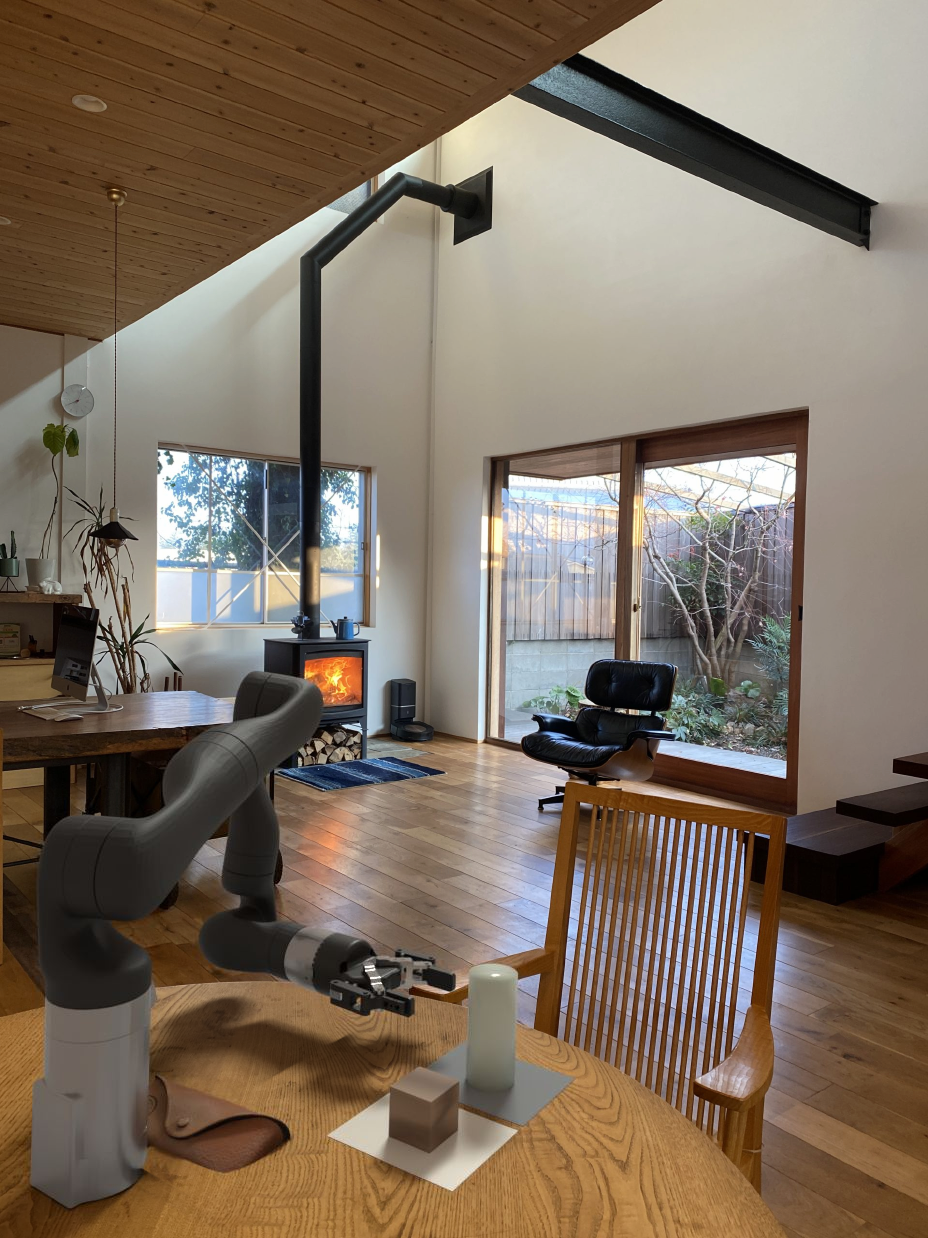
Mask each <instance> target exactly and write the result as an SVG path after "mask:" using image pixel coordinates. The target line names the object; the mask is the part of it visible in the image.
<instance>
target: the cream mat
mask: <svg viewBox="0 0 928 1238" xmlns="http://www.w3.org/2000/svg"><path fill="white" fill-rule="evenodd" d="M389 1102H390V1092H388V1093H387V1094H385V1095H384V1096H383V1097H380V1098H379V1099H377V1101H375V1102H373V1103H372V1104H370V1105H369V1106H368V1107H366V1108H365V1109H364V1110H362V1111H360V1112H359V1113H357V1114H356V1115H355V1116H353V1117H351V1118H350V1119H349V1120H347V1121H346V1122H344V1123H343V1124H342V1125H340V1126H339V1127H337V1128H336V1129H334V1130H333V1131H331V1132H330V1133H329V1134H327V1135H326V1137H328V1138H330V1139H333V1140H335V1141H337V1142H339V1143H341V1144H344V1145H346V1146H349V1147H351V1148H353V1149H356V1150H358V1151H360V1152H362V1153H364V1154H366V1155H369V1156H371V1157H373V1158H376V1159H377V1160H380V1161H383V1162H384V1163H387V1164H388V1165H391V1166H394V1167H396V1168H398V1169H400V1170H402V1171H405V1172H407V1173H409V1174H411V1175H414V1176H415V1177H419V1178H420V1179H423V1180H425V1181H427V1182H429V1183H431V1184H433V1185H436V1186H438V1187H440V1188H442V1189H445V1190H447V1191H449V1192H454V1191H455V1190H456V1189H457V1188H459V1186H461V1184H463V1183H464V1182H465V1181H466V1180H467V1179H468V1178H469V1177H470V1176H471V1175H472V1174H474V1173H475V1172H476V1171H477V1170H478V1169H479V1168H480V1167H481V1166H482V1165H483V1164H484V1163H485V1162H487V1160H488V1159H490V1158H491V1157H492V1156H493V1155H494V1154H495V1153H496V1152H498V1150H500V1149H501V1147H503V1146H504V1145H505V1144H506V1143H507V1142H508V1141H510V1139H511V1138H513V1137H514V1136H515V1135H516V1134H517V1133H519V1131H518V1129H514V1128H512V1127H509V1126H506V1125H503V1123H502V1124H501V1123H499V1122H497V1121H494V1120H490V1119H488V1118H486V1117H483V1116H482V1115H481V1116H480V1115H478V1114H476V1113H473V1112H471V1111H467V1110H465V1109H462V1108H461V1107H459V1115H458V1131H456V1132H455V1133H454V1134H453V1135H451V1136H450V1137H449V1138H448V1139H447V1140H445V1141H444V1142H443V1143H442V1144H441V1145H439V1146H438V1147H437V1148H436V1149H435V1150H433V1151H432V1152H431V1153H430V1154H429V1153H427V1152H424V1151H422V1150H420V1149H417V1148H415V1147H413V1146H410V1145H408V1144H406V1143H403V1142H401V1141H398V1140H396V1139H394V1138H391V1137H389V1136H388V1135H389Z"/></svg>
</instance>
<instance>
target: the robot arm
mask: <svg viewBox="0 0 928 1238" xmlns="http://www.w3.org/2000/svg"><path fill="white" fill-rule="evenodd" d="M323 696H324V695H323V693H322V691H321V689H320V687H319V686H318V685H317V684H315V683H314V682H313V681H310V680H308V679H305V678H302V677H296V676H291V675H287V674H281V673H274V672H267V671H262V670H253V671H250V672H248V674H247V675H245V676H244V678H243V679H242V681H241V682H240V684H239V686H238V689H237V692H236V695H235V699H234V706H233V711H232V721H231V722H226V723H223V724H219V725H216V726H213V727H211V728H208V729H206V730H205V731H203V732H201V733H200V734H198V735H197V736H195V737H194V738H192V740H190V741H189V742H188V743H187V744H185V746H183V747H182V748H181V749H180V750H179V751H178V752H177V753H175V754H174V755H173V756H172V758H171V760H169V762H168V764H167V766H166V767H165V770H164V773H163V778H162V796H163V797H162V798H163V802H164V805H165V806H164V807H162V808H161V809H159V810H158V811H157V812H155V813H154V814H152V815H149V816H145V817H140V818H139V817H138V818H134V817H119V816H107V815H94V814H72V815H68V816H66V817H64V818H62V819H61V820H59V821H58V822H57V823H55V824H54V826H53V827H52V828H51V830H50V831H49V832H48V834H47V836H46V838H45V840H44V842H43V845H42V849H41V851H40V854H39V861H38V866H37V874H36V906H37V907H36V909H37V911H36V912H37V937H38V963H39V968H40V972H41V975H42V977H43V979H44V982H45V985H44V987H45V989H44V993H45V994H44V995H45V997H44V998H45V999H44V1029H43V1030H44V1032H43V1035H44V1037H43V1065H42V1066H43V1068H42V1077H40V1078H38V1079H36V1080H35V1081H34V1082H33V1084H32V1103H31V1105H32V1107H31V1108H32V1109H31V1115H32V1116H31V1145H30V1146H31V1148H30V1150H31V1151H30V1183H29V1185H31V1186H32V1187H34V1188H36V1190H38V1191H41V1192H42V1193H44V1194H45V1195H47V1196H48V1197H50V1198H52V1199H54V1201H56V1202H58V1203H60V1204H62V1206H64V1207H66V1208H68V1209H73V1208H75V1207H76V1206H78V1205H80V1204H82V1203H87V1202H94V1201H98V1200H102V1199H105V1198H108V1197H109V1198H110V1197H111V1196H114V1195H116V1194H118V1193H121V1192H122V1191H124V1190H126V1189H127V1188H130V1187H131V1186H133V1184H135V1183H136V1182H137V1181H138V1180H139V1178H141V1177H142V1175H143V1174H144V1172H145V1169H144V1168H143V1166H144V1165H145V1163H146V1160H147V1156H148V1155H147V1154H148V1153H147V1152H148V1148H147V1128H148V1088H149V1085H150V1083H149V1081H150V1079H149V1078H150V1050H151V1049H150V1045H151V1044H150V1043H151V1012H152V1010H151V1009H152V1008H151V981H153V979H152V978H153V977H152V973H153V965H152V958H151V956H150V954H149V952H148V951H147V950H146V949H145V948H144V947H143V946H142V945H140V944H138V943H136V942H135V941H132V940H131V939H129V938H128V937H126V936H125V935H124V934H122V933H121V932H120V931H118V930H117V929H116V928H115V927H114V925H113V924H112V923H111V922H110V921H113V922H114V921H115V922H132V921H133V922H134V921H138V920H142V919H143V918H145V917H147V916H149V915H151V914H152V912H154V911H155V910H156V909H157V908H158V907H159V906H160V905H161V904H162V903H163V901H164V900H165V899H166V898H167V897H168V896H169V894H170V893H171V891H172V890H173V889H174V887H175V886H176V885H177V883H178V881H179V880H180V878H181V877H182V876H183V874H184V873H185V871H186V870H187V868H189V865H191V863H192V862H193V860H194V859H195V857H196V855H198V853H199V852H200V850H201V848H203V847H204V845H205V844H206V843H207V842H208V840H210V838H211V837H212V836H213V835H214V834H215V832H217V830H218V829H219V828H220V827H221V825H222V824H223V823H224V822H225V821H226V820H227V819H228V818H229V822H228V823H229V824H228V831H227V836H226V837H227V839H226V844H225V849H224V850H225V851H224V857H223V864H222V870H221V877H220V879H221V881H220V882H221V885H222V888H223V889H224V890H225V891H227V892H228V893H230V894H232V895H235V896H239V899H240V902H239V906H238V907H235V908H232V909H226V910H223V911H219V912H216V913H214V914H212V915H210V916H209V917H208V918H206V919H205V921H204V922H203V924H202V925H201V926H200V929H199V932H198V946H199V949H200V951H201V953H202V956H203V957H204V958H205V959H206V960H207V961H208V962H209V963H210V964H212V965H214V966H216V967H217V968H221V969H224V970H228V971H235V972H241V973H242V972H243V973H244V972H245V973H255V974H258V973H259V974H267V975H271V976H273V977H276V978H278V979H282V980H285V981H287V982H290V983H294V984H295V985H297V986H298V987H299V986H300V987H301V988H303V989H304V990H305V989H306V990H308V991H311V992H315V993H317V994H319V995H323V996H326V997H329V998H330V999H329V1003H330V1004H331V1005H333V1006H336V1007H338V1008H341V1009H343V1010H346V1011H348V1012H351V1013H353V1014H356V1015H359V1016H361V1017H368V1016H370V1015H371V1012H372V1011H375V1012H377V1013H381V1012H384V1011H386V1012H389V1013H393V1014H396V1015H399V1016H403V1017H406V1018H411V1017H412V1016H414V1015H415V1011H416V1010H415V1005H416V1004H415V1002H416V1000H415V998H414V997H413V996H412V995H409V994H406V993H402V992H400V991H397V990H400V989H401V990H406V989H407V990H409V989H410V990H411V988H412V987H413V986H414V985H415V986H418V985H421V986H424V985H425V986H428V987H432V988H435V989H438V990H441V991H446V992H448V993H451V992H453V991H454V990H456V986H457V985H456V984H457V976H456V973H455V972H453V971H451V970H447V969H443V968H440V967H437V966H436V965H437V963H436V962H437V957H436V956H434V955H430V954H425V953H422V952H418V951H414V950H411V949H405V948H401V947H398V948H394V956H392V957H391V956H390V955H378V954H377V952H375V950H374V949H373V947H372V945H371V944H370V942H368V941H367V940H365V939H363V938H358V937H355V936H351V935H347V934H344V933H341V932H336V931H333V930H331V929H327V928H319V927H312V926H309V925H305V924H301V923H298V922H295V921H288V920H278V912H277V904H276V893H275V886H274V885H275V883H274V877H275V871H276V866H277V859H278V854H279V848H280V847H279V846H280V839H281V838H280V836H281V835H280V834H281V833H280V824H279V819H278V815H277V812H276V809H275V807H274V804H273V801H272V800H271V796H270V794H269V792H268V790H267V787H266V783H265V781H264V779H265V778H267V776H268V775H270V773H271V772H272V771H273V770H274V769H276V768H277V767H278V766H279V765H280V764H282V763H283V761H285V760H287V759H288V758H289V757H291V756H292V755H294V754H295V753H296V752H297V751H298V750H300V749H302V748H303V746H305V745H306V744H307V743H308V742H309V741H310V739H311V738H312V737H313V735H314V734H315V732H316V731H317V729H318V727H319V725H320V723H321V720H322V717H323V714H324V707H325V705H324V703H325V701H324V697H323ZM403 973H406V977H405V979H404V980H402V974H403ZM413 975H414V976H413ZM359 999H360V1000H359ZM358 1000H359V1001H360V1003H358Z"/></svg>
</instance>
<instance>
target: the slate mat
mask: <svg viewBox="0 0 928 1238" xmlns="http://www.w3.org/2000/svg"><path fill="white" fill-rule="evenodd" d="M466 1054H467V1041H463V1042H461V1043H460V1044H458V1045H457V1046H455V1047H454V1048H452V1049H451V1050H449V1051H448V1052H446V1053H445V1054H444V1055H442V1056H441V1057H439V1058H438V1059H436V1060H435V1061H433V1062H432V1063H430V1064H429V1065H428V1066H426V1067H424V1068H425V1069H428V1070H431V1071H434V1072H436V1073H439V1074H442V1075H445V1076H447V1077H450V1078H453V1079H455V1080H458V1081H460V1082H459V1103H460V1104H461V1105H465V1106H467V1107H470V1108H473V1109H475V1110H478V1111H480V1112H484V1113H485V1114H488V1115H491V1116H494V1117H496V1118H498V1119H501V1120H503V1121H507V1122H509V1123H513V1124H514V1125H517V1126H520V1127H521V1128H522V1127H525V1126H526V1125H527V1124H528V1123H529V1122H530V1121H531V1120H532V1119H533V1118H535V1116H537V1115H538V1114H539V1113H540V1112H541V1111H542V1110H543V1109H544V1108H545V1107H546V1106H547V1105H549V1104H550V1103H551V1102H552V1101H553V1100H554V1099H555V1098H556V1097H557V1096H559V1094H560V1093H562V1092H564V1090H565V1089H566V1088H567V1087H568V1086H569V1085H571V1084H572V1082H574V1081H575V1080H576V1078H575V1077H572V1076H569V1075H567V1074H563V1073H561V1072H558V1071H554V1070H551V1069H549V1068H546V1067H542V1066H541V1065H540V1066H539V1065H537V1064H533V1063H532V1062H531V1063H530V1062H528V1061H524V1060H522V1059H518V1058H516V1057H515V1083H514V1085H513V1086H512V1087H511V1088H509V1089H507V1090H505V1091H501V1092H484V1091H479V1090H476V1089H474V1088H472V1087H471V1086H470V1085H468V1083H467V1082H466Z"/></svg>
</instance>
